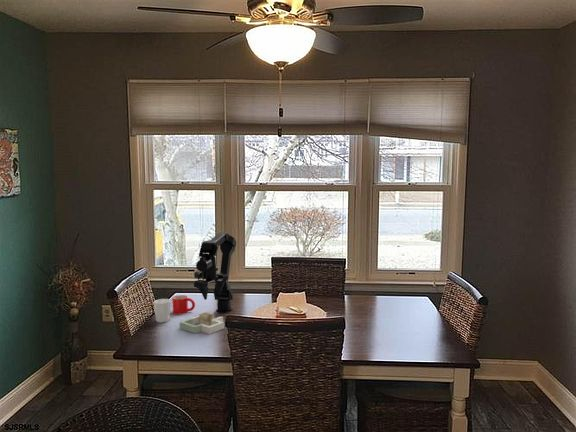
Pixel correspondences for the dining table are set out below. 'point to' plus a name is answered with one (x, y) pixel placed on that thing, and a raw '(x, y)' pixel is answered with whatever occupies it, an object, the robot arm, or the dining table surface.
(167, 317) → the white cup
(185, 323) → the angular open frame
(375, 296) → the dining table surface
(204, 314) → the block
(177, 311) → the mug
